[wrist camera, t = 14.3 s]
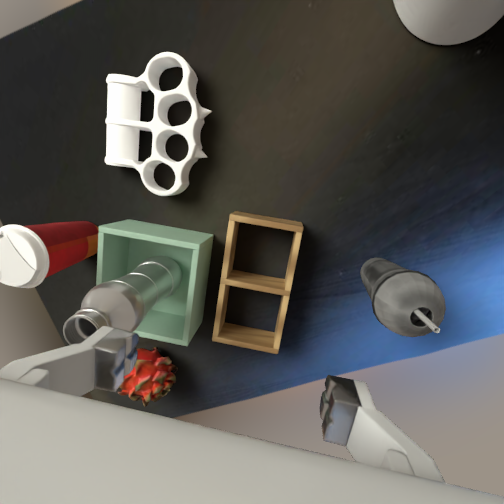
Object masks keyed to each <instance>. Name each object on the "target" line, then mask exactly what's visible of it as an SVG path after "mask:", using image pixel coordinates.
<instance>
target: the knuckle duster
mask: <svg viewBox="0 0 504 504" xmlns="http://www.w3.org/2000/svg"><path fill="white" fill-rule="evenodd" d="M172 67H181V68H182V69H183V79H182V82H181V84H180V85H179V86H178V87H177V88H176V89H173V90H169V91H161V90H160V87H159V78H160V75H161V74H162V72H163V71H164V70H166V69H168V68H172ZM106 82H107V83H108V99H107V118H106V122H105V123H106V124H107V143H106V157H105V162H106V164H109V165H115V166H123V167H130V168H135V169H136V170H137V171H138V172H139V173H140V175H141V179H142V181H143V183H144V185H145V186H146V188H147V189H148V190H149V191H151V192H152V193H154V194H156V195H159V196H171V195H177V194H180V193H182V192H183V191H184V190H185V189H186V188H187V187H188V185H189V172H190V169H191V167H192V166H193V164H194V163H195V162H197V161H198V158H207V156H206V154H205V153H204V152H203V151H202V145H201V141H200V133H201V129H202V127H203V125H204V123H205V122H204V118H205V117H206V116H207V115H208V114H210V113H211V112H212V111H211V110H208V109H205V108H203V107H201V106H200V104H199V102H198V100H197V97H196V85H197V82H198V78H197V76H196V74H195V72H194V70H193V69H192V68H191V67H190V65H189V64H188V63H187V62H186V61H185V59H183V58H182V57H181V56H180V55H178V54H175V53H172V52H163V53H160V54H158V55H156V56H155V57H153V58H152V59H151V60H150V62H149V63H148V65H147V67H146V70H145V73H143V74H142V75H141V76H139V77H138V78H135V77H131V76H126V75H120V74H108V77H107V78H106ZM148 90H151V91H152V92H153V93H154V95H155V102H154V117H153V120H152V121H150V122H143V121H140V111H141V91H145V92H147V91H148ZM180 101H189V102H190V104H191V107H192V114H191V117H190V119H189V120H188V122H186V123H185V124H183V125H179V126H171V125H170V124H169V122H168V118H167V114H168V110H169V108H170V106H171V105H172V104H174V103H176V102H180ZM140 130H143V131H151V132H152V134H153V138H152V155H151V157H150V158H148V159H146V160H145V161H144V162H141V161H138V156H139V134H140ZM174 134H181V135H182V136H184V137H185V138H186V140H187V142H188V145H189V151H188V154H187V156H186V158H185V159H184V160H182V161H180V162H176V161H174V160H172V159H171V158H170V157H169V156H168V155H167V153H166V149H165V145H166V141H167V140H168V138H169V137H170V136H172V135H174ZM160 163H165V164H167V165H169V166H170V167H171V168H172V169H173V170H174V173H175V177H176V180H175V184H174V186H173V187H172V188H171V189H169V190H166V189H164V188H162V187H160V186H159V185H158V184H157V183H156V182H155V180H154V170H155V168H156V166H157V165H159V164H160Z"/></svg>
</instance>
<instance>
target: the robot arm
mask: <svg viewBox="0 0 504 504" xmlns="http://www.w3.org/2000/svg"><path fill="white" fill-rule="evenodd" d="M393 2H394V5H395V8H396V11H397V14H398V16H399V18H400V19H401V21H402V23H403V24H404V25H405V27H406V28H407V29H408V30H409V31H410V32H411V33H412V34H414V35H415V36H416V37H418V38H420V39H422V40H424V41H426V42H429V43H432V44H438V45H453V44H459V43H463V42H466V41H469V40H471V39H473V38H476V37H477V36H479V35H481V34H483V33H484V32H486V31H487V30H488V29H490V28H491V27H492V26H493V25H494V24H495V23H496V22H497V21H498V20H499V19H500V18H501V17H502V16H503V15H504V0H393ZM138 343H139V335H138V334H137V333H134V332H130V331H126V330H121V329H117V328H113V327H108V326H102V327H101V328H100V329H98V330H97V331H96V332H95V333H93V334H92V335H91V336H90V337H88V338H87V339H86V340H85V341H83V342H82V343H81V344H73V345H70V346H66V347H62V348H59V349H55V350H52V351H48V352H44V353H41V354H37V355H33V356H30V357H26V358H23V359H19V360H15V361H12V362H11V363H9V364H8V365H6V366H5V367H3V368H2V369H0V504H504V497H502V496H498V495H494V494H490V493H486V492H481V491H477V490H473V489H469V488H464V487H460V486H456V485H452V484H448V483H445V481H444V479H443V477H442V475H441V473H440V471H439V469H438V467H437V465H436V463H435V461H434V459H433V458H432V457H431V456H430V455H429V454H427V453H426V452H425V451H424V450H423V449H422V448H421V447H420V446H419V445H417V444H416V443H415V442H414V441H413V440H412V439H411V438H410V437H409V436H407V435H406V434H405V433H404V432H403V431H402V430H401V429H400V428H398V427H397V426H396V425H395V424H394V423H393V422H392V421H390V419H389V418H387V417H386V416H385V415H384V414H383V413H382V412H381V411H377V410H376V407H375V405H374V402H373V399H372V397H371V394H370V392H369V389H368V386H367V384H366V383H365V382H363V381H358V380H351V379H346V378H341V377H336V376H331V375H328V376H327V378H326V382H325V386H326V390H325V391H324V392H323V393H322V397H321V403H320V417H321V419H322V420H323V423H322V432H323V439H324V441H327V442H330V443H334V444H338V445H342V446H346V448H347V450H348V451H349V453H350V454H351V456H352V457H353V459H354V460H355V461H356V462H355V461H350V460H346V459H342V458H338V457H334V456H329V455H325V454H321V453H317V452H312V451H308V450H304V449H300V448H295V447H291V446H287V445H283V444H278V443H274V442H269V441H265V440H261V439H257V438H253V437H249V436H244V435H240V434H236V433H232V432H228V431H223V430H218V429H215V428H211V427H206V426H202V425H198V424H194V423H189V422H185V421H181V420H177V419H173V418H168V417H164V416H160V415H156V414H151V413H147V412H143V411H139V410H134V409H130V408H126V407H122V406H117V405H113V404H109V403H105V402H101V401H96V400H92V399H88V398H83V397H80V396H82V395H84V394H86V393H87V392H89V391H91V390H93V389H94V388H97V389H102V390H107V391H112V392H115V391H116V390H117V389H118V387H119V386H120V385H121V384H122V383H123V381H124V376H126V375H128V374H130V373H131V371H132V370H133V368H134V366H135V364H136V361H137V356H138V351H137V349H136V348H135V346H136V345H137V344H138Z"/></svg>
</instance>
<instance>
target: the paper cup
mask: <svg viewBox="0 0 504 504" xmlns="http://www.w3.org/2000/svg"><path fill="white" fill-rule="evenodd" d="M98 233H99V228H98V227H97V226H96V225H94V224H93V223H91V222H88V221H73V222H61V223H49V224H41V225H30V226H20V225H7V226H3V227H1V228H0V282H1V283H4V284H6V285H10V286H15V287H20V288H23V287H25V288H33V287H35V286H38V285H39V284H41V283H42V281H43V280H44V278H46V277H48V276H50V275H52V274H54V273H56V272H59V271H61V270H63V269H65V268H67V267H69V266H71V265H73V264H75V263H78V262H80V261H82V260H84V259H86V258H88V257H90V256H92V255H94V254H95V253H97V252H98Z"/></svg>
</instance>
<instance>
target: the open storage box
mask: <svg viewBox="0 0 504 504" xmlns="http://www.w3.org/2000/svg"><path fill="white" fill-rule="evenodd" d="M213 237H214V235H213V234H207V233H202V232H196V231H191V230H185V229H180V228H174V227H169V226H163V225H157V224H152V223H146V222H141V221H135V220H130V219H128V220H124V221H120V222H115V223H111V224H106V225H102V226H99V233H98V255H97V279H96V286H97V285H99V284H101V283H104V282H108V281H111V280H114V279H118V278H120V277H122V276H125V275H127V274H129V273H130V272H132V271H133V270H134V269H136V268H137V266H138V265H139V264H140V263H141V262H143V261H144V260H145V259H147V258H149V257H153V256H166V257H169V258H171V259H173V260H174V261H175V262H176V263H177V264H178V265H179V267H180V269H181V271H182V282H181V284H180V286H179V288H178V290H177V291H176V292H175V293H174V294H173V295H171V296H170V297H168V298H166V299H164V300H162V301H160V302H159V303H157V304H156V305H155V306H154V307H153V308H152V309H151V310H150V311H149V312H148V313H147V315H146V316H145V318H144V319H143V321H142V322H141V324H140V325H139V326H138V327H137V328H136V330H135V331H133V332H134V333H137V334H138V335H139V336H140V337H145V338H150V339H154V340H159V341H164V342H169V343H174V344H179V345H183V346H188V344H189V343H190V341H191V339H192V338H193V336H194V334H195V333H196V331H197V329H198V328H199V326H200V324H201V323H202V320H203V313H204V305H205V298H206V290H207V283H208V275H209V267H210V260H211V252H212V245H213Z"/></svg>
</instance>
